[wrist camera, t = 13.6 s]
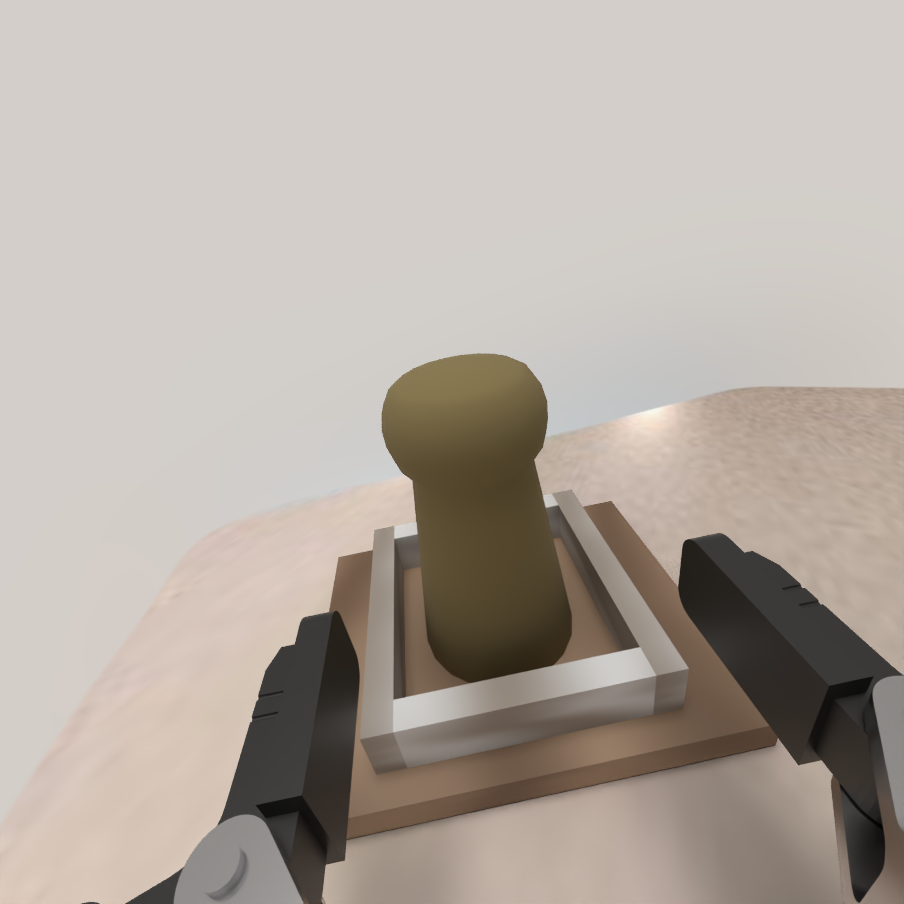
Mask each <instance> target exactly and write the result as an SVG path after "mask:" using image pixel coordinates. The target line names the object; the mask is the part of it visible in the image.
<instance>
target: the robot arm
mask: <svg viewBox="0 0 904 904" xmlns="http://www.w3.org/2000/svg"><path fill="white" fill-rule="evenodd" d="M678 591H679V597H680V600H681V603H682V605H683V608H684V610H685V612H686V613H687V615H688V616H689V618H690V619H691V620H692V622H693V623H694V624H695V626H696V627H697V629H698V630H699V631H700V633H701V634H702V635H703V637H704V638H705V639H706V641H707V642H708V643H709V645H710V646H711V647H712V649H713V650H714V652H715V653H716V654H717V656H718V657H719V658H720V660H721V661H722V662H723V664H724V665H725V666H726V668H727V669H728V671H729V672H730V673H731V675H732V676H733V677H734V679H735V680H736V681H737V683H738V684H739V685H740V687H741V688H742V689H743V691H744V692H745V694H746V695H747V696H748V698H749V699H750V700H751V702H752V703H753V704H754V706H755V707H756V708H757V710H758V711H759V713H760V714H761V715H762V717H763V718H764V719H765V721H766V722H767V723H768V725H769V726H770V727H771V729H772V730H773V731H774V733H775V734H776V736H777V737H778V738H779V740H780V741H781V742H782V744H783V745H784V746H785V748H786V749H787V750H788V752H789V753H790V755H791V756H792V757H793V759H794V760H795V761H796V763H797V764H798V765H801V764H806V763H810V762H815V761H820V760H822V761H823V762H824V764H825V765H826V766H827V768H828V769H829V770H830V771H831V773H832V774H833V776H832V780H831V789H832V799H833V808H834V818H835V828H836V837H837V847H838V856H839V866H840V875H841V885H842V895H843V904H904V675H902V674H901V673H900V672H898V671H897V670H896V669H895V668H894V667H892V666H891V665H890V664H889V663H888V662H887V661H886V660H885V659H883V658H882V657H881V656H880V655H879V654H878V653H877V652H876V651H875V650H873V649H872V648H871V647H870V646H869V645H868V644H867V643H866V642H865V641H863V640H862V639H861V638H860V637H859V636H858V635H857V634H856V633H855V632H853V631H852V630H851V629H850V628H849V627H848V626H847V625H846V624H844V623H843V622H842V621H841V620H840V619H839V618H838V617H837V616H836V615H834V614H833V613H832V612H831V611H830V610H829V609H828V608H827V607H826V606H824V605H823V604H822V605H821V604H820V603H819V602H818V599H817V598H816V597H814V596H813V595H812V594H811V593H810V592H809V591H808V590H807V589H805V588H802V587H801V584H800V583H799V582H798V581H797V580H795V579H794V578H793V577H792V576H791V575H790V574H789V573H788V572H787V571H785V570H784V569H783V568H782V567H781V566H780V565H778V564H776V563H774V562H772V561H771V560H769V559H767V558H765V557H763V556H761V555H759V554H757V553H755V552H753V551H750V552H745V553H744V552H743V551H742V550H741V549H740V548H739V547H738V546H737V545H736V544H735V543H734V542H733V541H732V540H731V539H729V538H728V537H727V536H726V535H724V534H722V533H717V534H712V535H707V536H702V537H698V538H693V539H688V540H686V541H685V542H684V543H683V548H682V557H681V566H680V576H679V585H678ZM359 685H360V671H359V662H358V658H357V654H356V651H355V649H354V646H353V644H352V642H351V639H350V637H349V634H348V632H347V629H346V627H345V625H344V622H343V620H342V617H341V615H340V613H339V612H338V611H332V612H328V613H323V614H318V615H313V616H308V617H304V618H303V619H302V620H301V622H300V626H299V630H298V634H297V638H296V642H295V645H290V646H285V647H281V649H280V650H279V652H278V653H277V654H276V656H275V657H274V659H273V660H272V662H271V663H270V665H269V666H268V668H267V669H266V671H265V674H264V678H263V681H262V685H261V688H260V691H259V695H258V697H259V699H258V701H256V705H255V708H254V711H253V715H252V722H250V725H249V728H248V732H247V735H246V738H245V742H244V745H243V749H242V752H241V755H240V759H239V762H238V765H237V769H236V772H235V775H234V779H233V782H232V786H231V789H230V792H229V796H228V799H227V802H226V806H225V809H224V811H223V814H222V817H221V819H220V821H219V823H218V825H217V827H215V828H214V829H213V830H212V831H210V832H209V833H208V834H207V835H206V836H205V837H204V838H203V839H202V841H201V842H200V843H199V844H198V845H197V847H196V848H195V849H194V851H193V852H192V854H191V855H190V857H189V859H188V860H187V862H186V864H185V866H184V867H183V868H182V869H181V870H179V871H178V872H177V873H175V874H174V875H172V876H171V877H169V878H168V879H166V880H164V881H162V882H161V883H159V884H157V885H156V886H154V887H152V888H151V889H149V890H147V891H146V892H144V893H142V894H141V895H139V896H137V897H136V898H134V899H132V900H131V901H129V902H127V903H126V904H326V903H325V901H324V899H323V897H322V892H323V883H324V874H325V866H326V864H330V863H335V862H340V861H344V860H345V851H346V839H347V827H348V816H349V804H350V792H351V780H352V768H353V756H354V744H355V733H356V721H357V709H358V697H359ZM82 904H99V903H96V902H87V903H82Z"/></svg>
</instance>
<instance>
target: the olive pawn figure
mask: <svg viewBox="0 0 904 904" xmlns="http://www.w3.org/2000/svg"><path fill="white" fill-rule="evenodd" d="M547 420H548V412H547V400H546V397H545V394H544V391H543V388H542V385H541V383H540V382H539V381H538V380H537V378H536V377H535V376H534V374H533V373H532V372H531V370H530V369H529V368H528V367H527V365H526V364H524V363H522V362H519V361H517V360H515V359H512V358H510V357H507V356H503V355H497V354H469V355H459V356H454V357H449V358H444V359H440V360H437V361H433V362H429V363H426V364H424V365H421V366H419V367H416V368H414V369H412V370H410V371H409V372H407V373H406V374H404V375H402V376H401V377H400V378H399V379H398V380H397V381H396V382H395V383H394V384H393V385H392V386H391V387H390V388H389V390H388V392H387V395H386V398H385V401H384V404H383V410H382V433H383V437H384V440H385V444H386V447H387V449H388V451H389V452H390V454H391V456H392V458H393V459H394V461H395V463H396V464H397V466H398V467H399V469H400V470H401V472H402V473H403V474H404V475H406V476H407V477H409V478H410V479H411V480H413V490H414V501H415V511H416V522H417V533H418V544H419V554H420V565H421V576H422V586H423V597H424V608H425V619H426V629H427V640H428V643H429V645H430V647H431V650H432V652H433V654H434V657H435V659H436V660H437V661H438V662H439V663H440V664H441V665H442V666H443V667H444V668H445V669H446V670H447V671H448V672H449V673H450V674H451V675H453V676H455V677H458V678H460V679H462V680H464V681H466V682H468V683H475V682H479V681H484V680H489V679H493V678H498V677H503V676H507V675H512V674H517V673H521V672H526V671H531V670H536V669H540V668H545V667H550V666H553V665H554V664H555V663H556V662H557V661H558V660H559V659H560V658H561V657H562V656H563V655H564V652H565V650H566V648H567V645H568V643H569V640H570V638H571V636H572V613H571V609H570V605H569V601H568V597H567V593H566V589H565V585H564V580H563V576H562V572H561V568H560V564H559V560H558V556H557V552H556V548H555V544H554V540H553V535H552V531H551V527H550V523H549V519H548V515H547V511H546V507H545V503H544V499H543V494H542V490H541V486H540V482H539V478H538V474H537V470H536V466H535V462H534V459H535V458H536V456H537V455H538V453H539V452H540V451H541V449H542V448H543V444H544V439H545V434H546V429H547Z"/></svg>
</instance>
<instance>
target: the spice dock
mask: <svg viewBox="0 0 904 904" xmlns="http://www.w3.org/2000/svg"><path fill="white" fill-rule="evenodd" d="M543 499H544V503H545V507H546V511H547V515H548V519H549V523H550V527H551V531H552V535H553V540H554V544H555V548H556V552H557V556H558V560H559V564H560V568H561V572H562V576H563V580H564V585H565V589H566V593H567V597H568V601H569V605H570V609H571V613H572V636H571V638H570V640H569V643H568V645H567V648H566V650H565V652H564V655H563V656H562V657H561V658H560V659H559V660H558V661H557V662H556V663H555V664H554V665H553V666H550V667H545V668H540V669H536V670H531V671H526V672H521V673H517V674H512V675H507V676H503V677H498V678H493V679H489V680H484V681H479V682H475V683H468V682H466V681H464V680H462V679H460V678H458V677H455V676H453V675H451V674H450V673H449V672H448V671H447V670H446V669H445V668H444V667H443V666H442V665H441V664H440V663H439V662H438V661H437V660H436V659H435V657H434V654H433V652H432V650H431V647H430V645H429V643H428V640H427V629H426V619H425V608H424V597H423V586H422V576H421V565H420V554H419V544H418V533H417V522H412V523H407V524H402V525H397V526H392V527H388V528H383V529H378V530H374V544H373V550H372V551H367V552H362V553H357V554H352V555H348V556H343V557H339V558H338V564H337V570H336V576H335V581H334V587H333V593H332V599H331V605H330V610H329V612H332V611H338V612H339V613H340V615H341V617H342V620H343V622H344V625H345V627H346V629H347V632H348V634H349V637H350V639H351V642H352V644H353V646H354V649H355V651H356V654H357V658H358V662H359V671H360V685H359V697H358V709H357V721H356V733H355V744H354V756H353V768H352V780H351V792H350V804H349V816H348V827H347V839H350V838H355V837H360V836H364V835H369V834H373V833H378V832H382V831H387V830H391V829H396V828H400V827H405V826H409V825H414V824H419V823H423V822H428V821H432V820H437V819H441V818H446V817H450V816H455V815H459V814H464V813H469V812H473V811H478V810H482V809H487V808H491V807H496V806H500V805H505V804H509V803H514V802H518V801H523V800H528V799H532V798H537V797H541V796H546V795H550V794H555V793H559V792H564V791H568V790H573V789H577V788H582V787H587V786H591V785H596V784H600V783H605V782H609V781H614V780H618V779H623V778H627V777H632V776H636V775H641V774H646V773H650V772H655V771H659V770H664V769H668V768H673V767H677V766H682V765H686V764H691V763H696V762H700V761H705V760H709V759H714V758H718V757H723V756H727V755H732V754H736V753H741V752H745V751H750V750H755V749H759V748H764V747H768V746H773V745H776V742H777V739H778V737H777V736H776V734H775V733H774V731H773V730H772V729H771V727H770V726H769V725H768V723H767V722H766V721H765V719H764V718H763V717H762V715H761V714H760V713H759V711H758V710H757V708H756V707H755V706H754V704H753V703H752V702H751V700H750V699H749V698H748V696H747V695H746V694H745V692H744V691H743V689H742V688H741V687H740V685H739V684H738V683H737V681H736V680H735V679H734V677H733V676H732V675H731V673H730V672H729V671H728V669H727V668H726V666H725V665H724V664H723V662H722V661H721V660H720V658H719V657H718V656H717V654H716V653H715V652H714V650H713V649H712V647H711V646H710V645H709V643H708V642H707V641H706V639H705V638H704V637H703V635H702V634H701V633H700V631H699V630H698V629H697V627H696V626H695V624H694V623H693V622H692V620H691V619H690V618H689V616H688V615H687V613H686V612H685V610H684V608H683V605H682V603H681V600H680V597H679V591H678V587H677V586H676V584H675V583H674V582H673V580H672V579H671V578H670V577H669V575H668V574H667V573H666V571H665V570H664V569H663V567H662V566H661V565H660V564H659V562H658V561H657V560H656V558H655V557H654V556H653V555H652V553H651V552H650V551H649V549H648V548H647V547H646V545H645V544H644V543H643V542H642V540H641V539H640V538H639V536H638V535H637V534H636V533H635V531H634V530H633V529H632V527H631V526H630V525H629V524H628V522H627V521H626V520H625V518H624V517H623V516H622V514H621V513H620V512H619V511H618V509H617V508H616V507H615V505H614V504H613V503H612V502H611V501H609V502H604V503H599V504H595V505H590V506H585V507H582V505H581V504H580V502H579V501H578V499H577V498H576V496H575V494H574V493H573V491H572V490H568V491H563V492H558V493H553V494H548V495H543Z"/></svg>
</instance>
